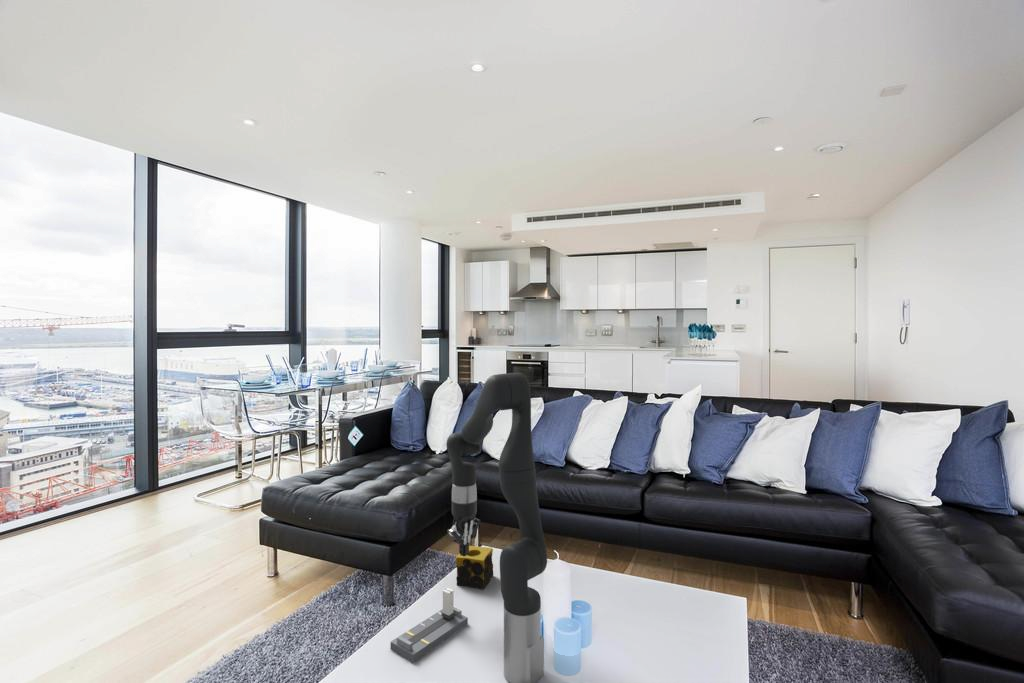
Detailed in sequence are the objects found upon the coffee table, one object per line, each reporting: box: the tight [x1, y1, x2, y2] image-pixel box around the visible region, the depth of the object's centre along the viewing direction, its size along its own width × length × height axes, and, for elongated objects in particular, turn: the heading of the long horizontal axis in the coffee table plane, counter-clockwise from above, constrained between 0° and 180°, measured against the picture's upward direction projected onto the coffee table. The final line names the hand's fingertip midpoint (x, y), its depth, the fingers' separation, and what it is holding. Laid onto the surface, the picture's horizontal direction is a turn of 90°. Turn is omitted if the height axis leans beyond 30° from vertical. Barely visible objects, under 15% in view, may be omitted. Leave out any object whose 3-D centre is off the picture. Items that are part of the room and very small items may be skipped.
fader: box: [442, 587, 455, 619], centre depth 147 cm, size 3×2×8 cm
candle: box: [455, 545, 494, 590], centre depth 172 cm, size 10×10×10 cm
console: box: [390, 606, 469, 663], centre depth 141 cm, size 9×21×4 cm, turn 143°
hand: (464, 554), depth 152 cm, fingers closed
